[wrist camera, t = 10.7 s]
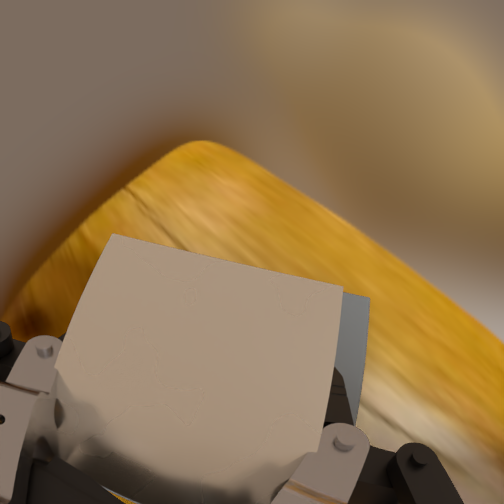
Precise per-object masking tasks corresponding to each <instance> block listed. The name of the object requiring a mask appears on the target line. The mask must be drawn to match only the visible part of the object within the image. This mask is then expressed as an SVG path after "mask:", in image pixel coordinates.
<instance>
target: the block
mask: <svg viewBox="0 0 504 504" xmlns="http://www.w3.org/2000/svg"><path fill="white" fill-rule="evenodd" d="M342 296H343V286H338V285H334V284H329V283H325V282H320V281H315V280H311V279H306V278H302V277H297V276H293V275H288V274H284V273H279V272H275V271H270V270H266V269H262V268H257V267H253V266H248V265H244V264H240V263H235V262H231V261H227V260H222V259H218V258H214V257H209V256H205V255H201V254H197V253H192V252H188V251H184V250H180V249H176V248H171V247H167V246H163V245H159V244H155V243H151V242H146V241H142V240H138V239H134V238H130V237H126V236H122V235H118V234H114V233H112V235H111V237H110V239H109V241H108V243H107V245H106V246H105V248H104V250H103V252H102V254H101V256H100V258H99V260H98V262H97V264H96V266H95V268H94V270H93V272H92V274H91V276H90V278H89V281H88V283H87V285H86V287H85V289H84V291H83V294H82V296H81V298H80V300H79V303H78V305H77V307H76V310H75V312H74V315H73V317H72V319H71V322H70V324H69V327H68V330H67V332H66V335H65V337H64V340H63V343H62V346H61V348H60V351H59V354H58V357H57V360H56V363H55V366H54V368H56V369H57V370H58V375H57V399H56V402H55V406H54V420H55V424H56V426H57V429H58V441H59V452H60V458H61V459H62V460H64V461H65V462H67V463H69V464H70V465H72V466H73V467H75V468H77V469H78V470H80V471H82V472H84V473H85V474H87V475H89V476H90V477H91V478H93V479H94V480H95V481H96V482H97V483H99V484H100V485H101V486H103V487H105V488H107V489H109V490H111V491H113V492H115V493H117V494H119V495H122V496H124V497H126V498H128V499H131V500H133V501H135V502H138V503H140V504H270V503H271V502H272V501H273V500H274V498H275V497H276V496H277V494H278V493H279V492H280V490H281V489H282V488H283V487H284V485H285V484H286V483H287V482H288V481H289V479H290V478H291V476H292V475H293V474H294V472H295V471H296V469H297V468H298V466H299V465H300V464H301V462H302V461H303V459H304V458H305V456H306V454H307V453H308V452H317V451H318V446H319V442H320V438H321V433H322V429H323V424H324V419H325V414H326V409H327V404H328V399H329V393H330V388H331V382H332V376H333V370H334V363H335V356H336V349H337V342H338V334H339V325H340V316H341V307H342Z"/></svg>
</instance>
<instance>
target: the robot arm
mask: <svg viewBox="0 0 504 504" xmlns="http://www.w3.org/2000/svg"><path fill="white" fill-rule="evenodd" d="M65 335H66V333H65V334H63V335H62V336H61V337H59V338H56V337H53V336H46V335H43V336H37V337H34V338H32V339H30V340H29V341H28V342H27V343H24V342H21V341H18V340H15V339H12V334H11V330H10V327H9V325H8V324H6V323H5V322H2V321H0V504H125V503H123V502H122V501H120V500H119V499H118V498H116V497H115V496H114V495H112V494H111V493H110V492H108V491H107V490H106V489H105V488H103V487H102V486H101V485H100V484H99V483H97V482H96V481H95V480H94V479H93V478H91V477H90V476H89V475H87V474H85V473H84V472H82V471H80V470H78V469H77V468H75V467H73V466H72V465H70V464H69V463H67V462H65V461H64V460H62V459H61V458H60V452H59V441H58V429H57V426H56V424H55V420H54V406H55V402H56V399H57V375H58V370H57V369H56V368H54V366H55V363H56V360H57V357H58V354H59V351H60V348H61V346H62V343H63V340H64V337H65ZM270 504H464V503H463V501H462V499H461V497H460V496H459V494H458V492H457V490H456V488H455V487H454V485H453V483H452V481H451V480H450V478H449V476H448V474H447V473H446V471H445V469H444V467H443V466H442V464H441V462H440V461H439V459H438V457H437V456H436V454H435V453H434V452H433V451H432V450H431V449H430V448H429V447H427V446H425V445H423V444H420V443H407V444H405V445H403V446H402V447H400V449H399V450H398V451H397V452H396V453H395V452H390V451H386V450H383V449H379V448H376V447H373V446H371V445H370V443H369V440H368V438H367V436H366V435H365V434H364V433H363V432H362V431H361V430H360V429H358V428H357V427H355V426H354V423H353V418H352V414H351V409H350V405H349V401H348V397H347V392H346V388H345V383H344V379H343V376H342V375H341V374H340V372H339V371H338V370H337V369H336V367H334V370H333V376H332V382H331V388H330V393H329V399H328V404H327V409H326V414H325V419H324V424H323V429H322V433H321V438H320V442H319V446H318V451H317V452H308V453H307V454H306V456H305V458H304V459H303V461H302V462H301V464H300V465H299V466H298V468H297V469H296V471H295V472H294V474H293V475H292V476H291V478H290V479H289V481H288V482H287V483H286V484H285V485H284V487H283V488H282V489H281V490H280V492H279V493H278V494H277V496H276V497H275V498H274V500H273V501H272V502H271V503H270Z"/></svg>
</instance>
